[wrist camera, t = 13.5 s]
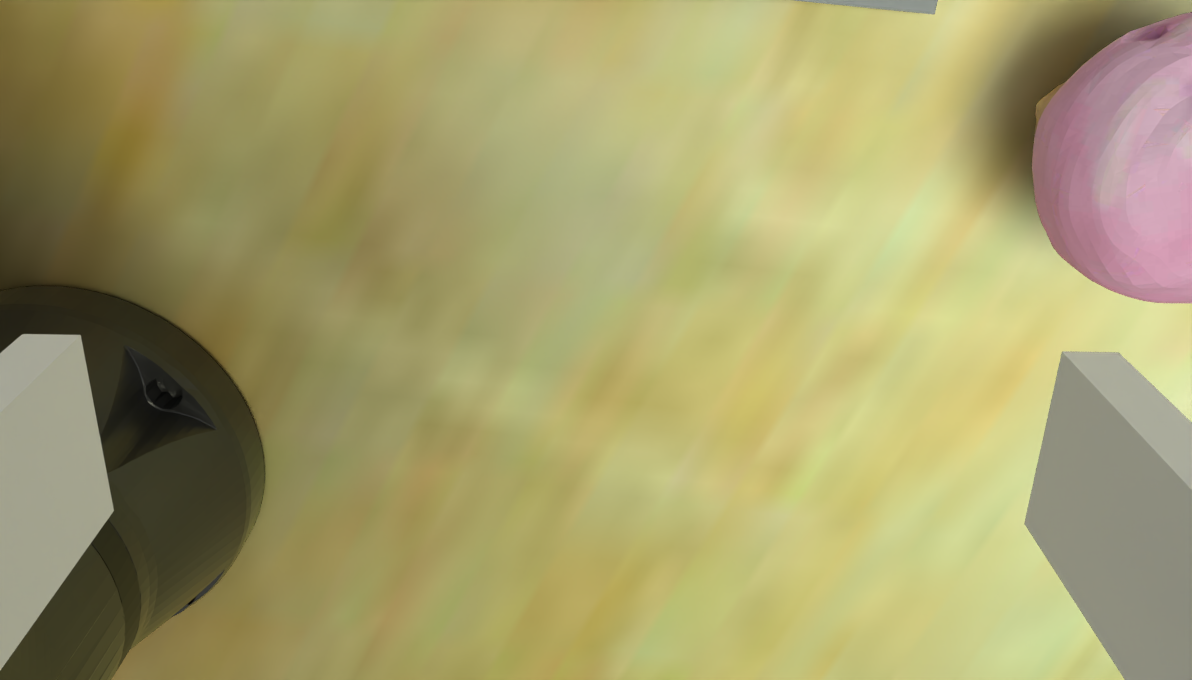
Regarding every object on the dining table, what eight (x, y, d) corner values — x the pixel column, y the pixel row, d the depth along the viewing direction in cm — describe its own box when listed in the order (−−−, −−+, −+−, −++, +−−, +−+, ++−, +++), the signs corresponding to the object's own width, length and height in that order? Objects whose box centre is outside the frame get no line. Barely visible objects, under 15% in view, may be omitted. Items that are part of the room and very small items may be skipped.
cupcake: (1263, 155, 39) (1453, 250, 30) (1036, 273, 42) (1150, 395, 32) (1176, -67, 36) (1358, -35, 27) (936, 73, 39) (1030, 145, 29)
